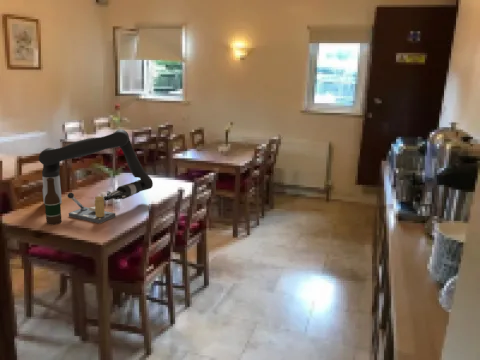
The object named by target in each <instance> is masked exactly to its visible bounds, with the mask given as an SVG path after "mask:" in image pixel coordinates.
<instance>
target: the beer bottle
mask: <svg viewBox="0 0 480 360" xmlns="http://www.w3.org/2000/svg"><path fill="white" fill-rule="evenodd" d="M44 211H45V219H46V224H47V225H58V224H61V223H62V210H61V204H60V199H59V196H58V195H57V193H56V192H55V186H54V178H47V194H46V196H45V204H44Z"/></svg>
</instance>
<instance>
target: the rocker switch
mask: <svg viewBox="0 0 480 360" xmlns="http://www.w3.org/2000/svg"><path fill="white" fill-rule="evenodd" d="M88 208H89V211H94V212H95V206H91V207H88Z"/></svg>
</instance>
